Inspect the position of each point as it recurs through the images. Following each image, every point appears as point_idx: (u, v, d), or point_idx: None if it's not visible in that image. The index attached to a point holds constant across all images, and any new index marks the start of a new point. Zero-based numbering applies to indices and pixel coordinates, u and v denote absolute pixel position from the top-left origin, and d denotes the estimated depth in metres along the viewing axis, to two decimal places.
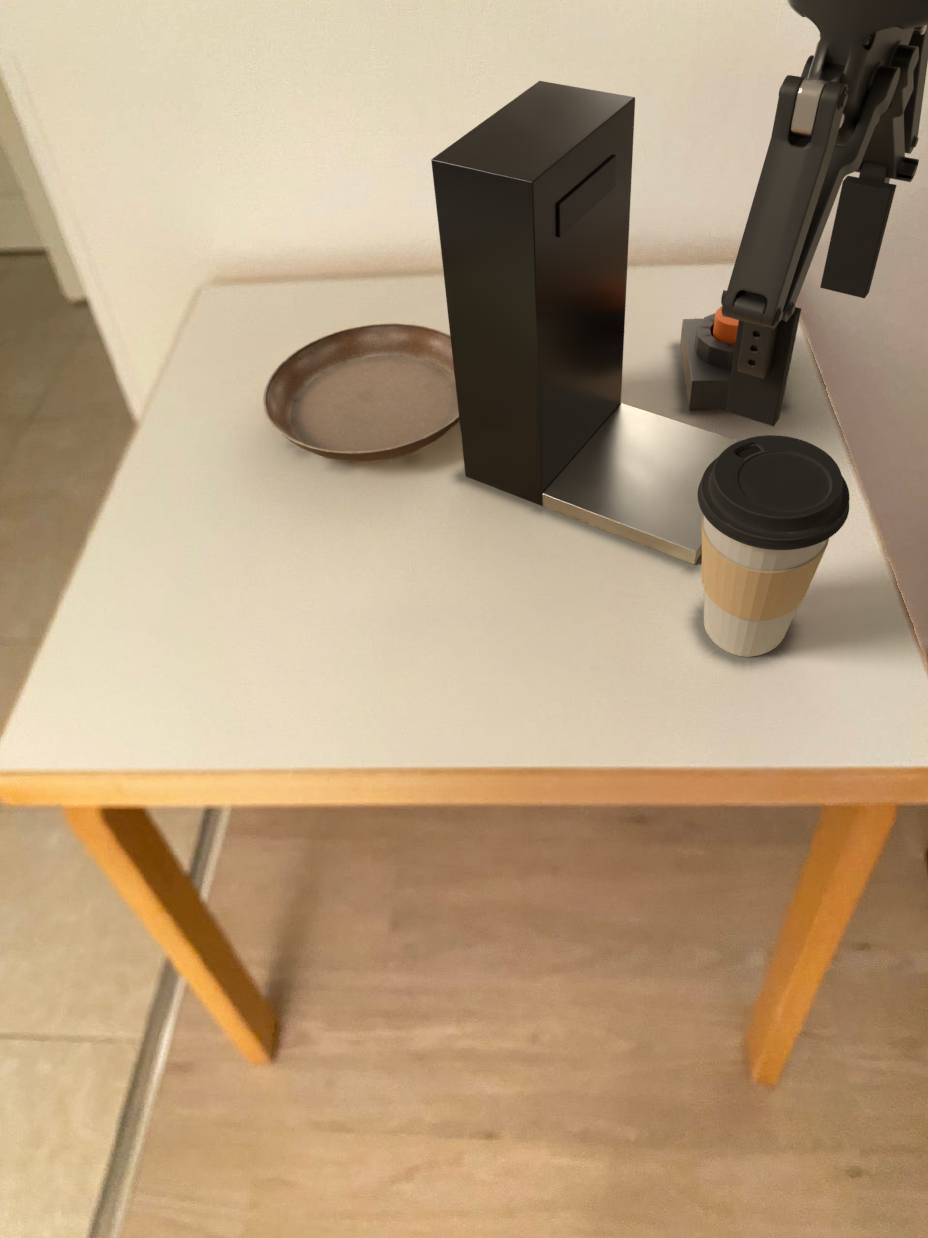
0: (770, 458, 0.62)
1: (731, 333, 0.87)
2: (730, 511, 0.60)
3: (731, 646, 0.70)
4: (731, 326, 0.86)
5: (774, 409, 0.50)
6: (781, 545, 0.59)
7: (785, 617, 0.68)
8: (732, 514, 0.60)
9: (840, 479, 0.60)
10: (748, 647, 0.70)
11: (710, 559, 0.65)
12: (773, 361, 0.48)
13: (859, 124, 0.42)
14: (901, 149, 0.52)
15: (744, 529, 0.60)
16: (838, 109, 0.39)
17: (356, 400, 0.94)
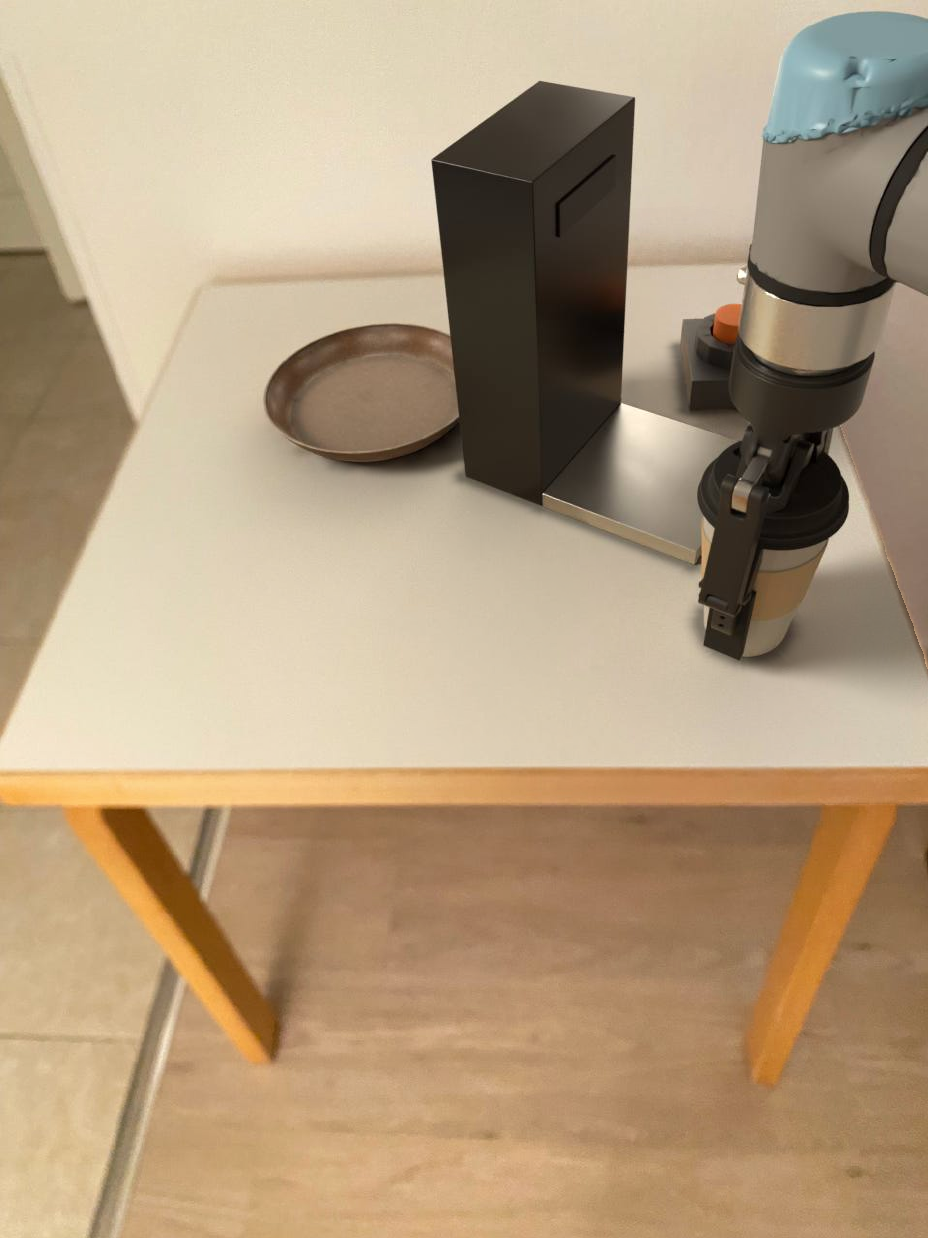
0: None
1: (731, 333, 0.87)
2: None
3: None
4: (731, 326, 0.86)
5: (739, 650, 0.67)
6: (781, 545, 0.59)
7: (785, 617, 0.68)
8: None
9: (840, 479, 0.60)
10: (748, 647, 0.70)
11: None
12: (737, 622, 0.65)
13: (785, 484, 0.58)
14: None
15: None
16: (762, 503, 0.55)
17: (356, 400, 0.94)
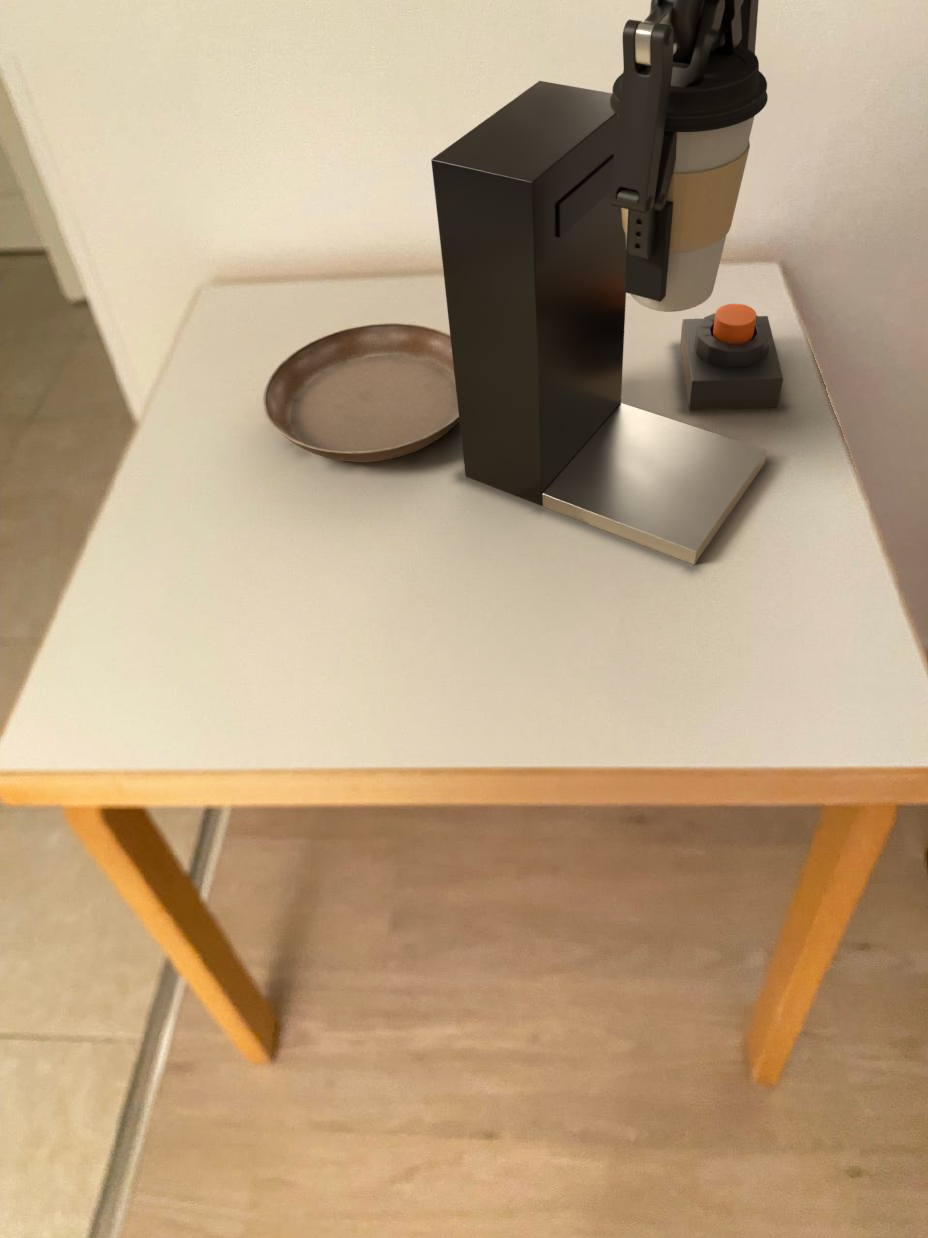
0: None
1: (731, 333, 0.87)
2: None
3: None
4: (731, 326, 0.86)
5: (660, 286, 0.64)
6: (692, 125, 0.56)
7: (708, 253, 0.64)
8: None
9: (756, 62, 0.57)
10: (672, 296, 0.66)
11: None
12: (655, 246, 0.62)
13: (695, 49, 0.55)
14: None
15: None
16: (666, 45, 0.52)
17: (356, 400, 0.94)
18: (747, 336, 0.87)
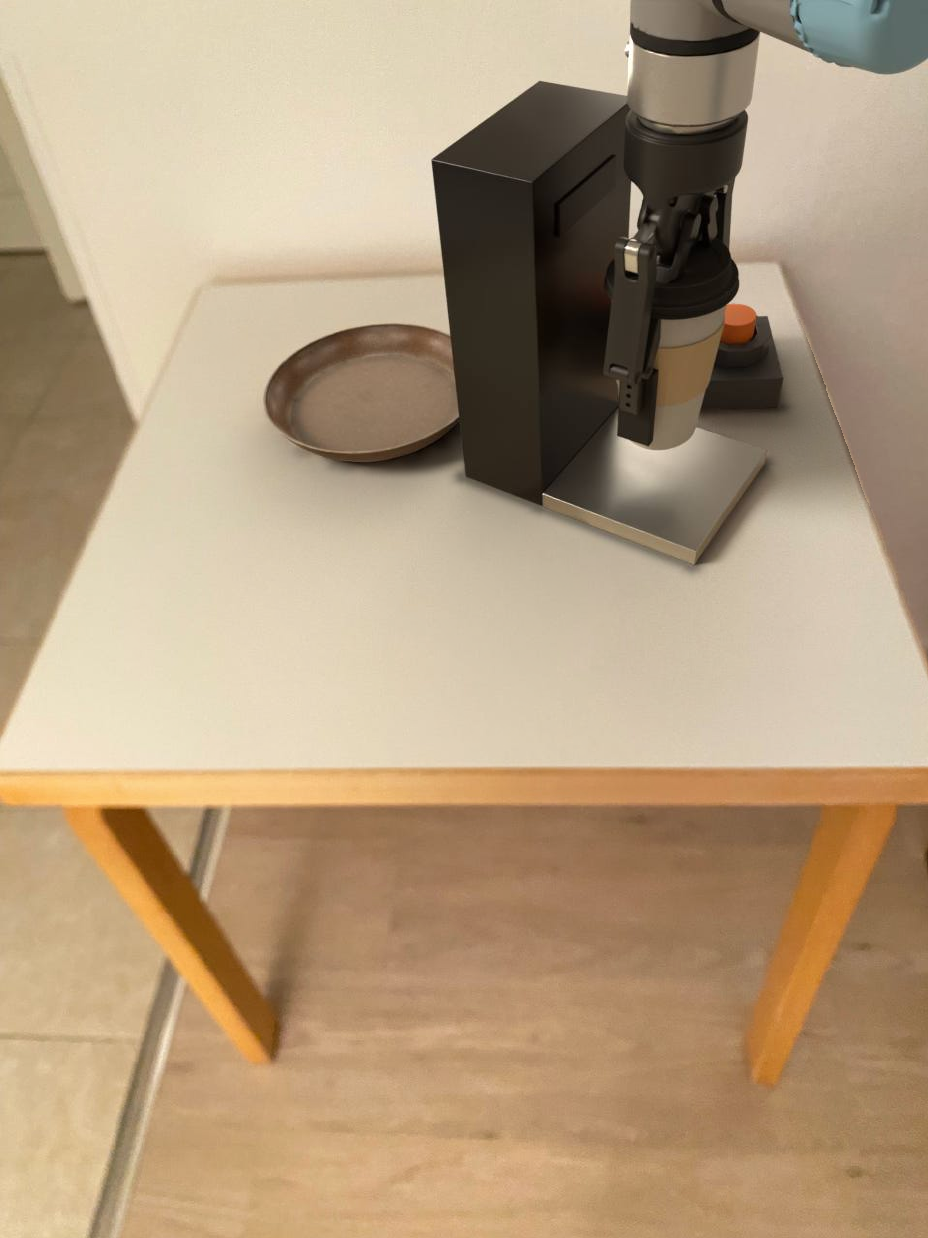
0: None
1: (731, 333, 0.87)
2: None
3: None
4: (731, 326, 0.86)
5: (647, 435, 0.74)
6: (674, 314, 0.66)
7: (689, 405, 0.74)
8: None
9: (729, 258, 0.67)
10: (658, 438, 0.76)
11: None
12: (643, 403, 0.72)
13: (676, 254, 0.64)
14: None
15: None
16: (651, 260, 0.61)
17: (356, 400, 0.94)
18: (747, 336, 0.87)
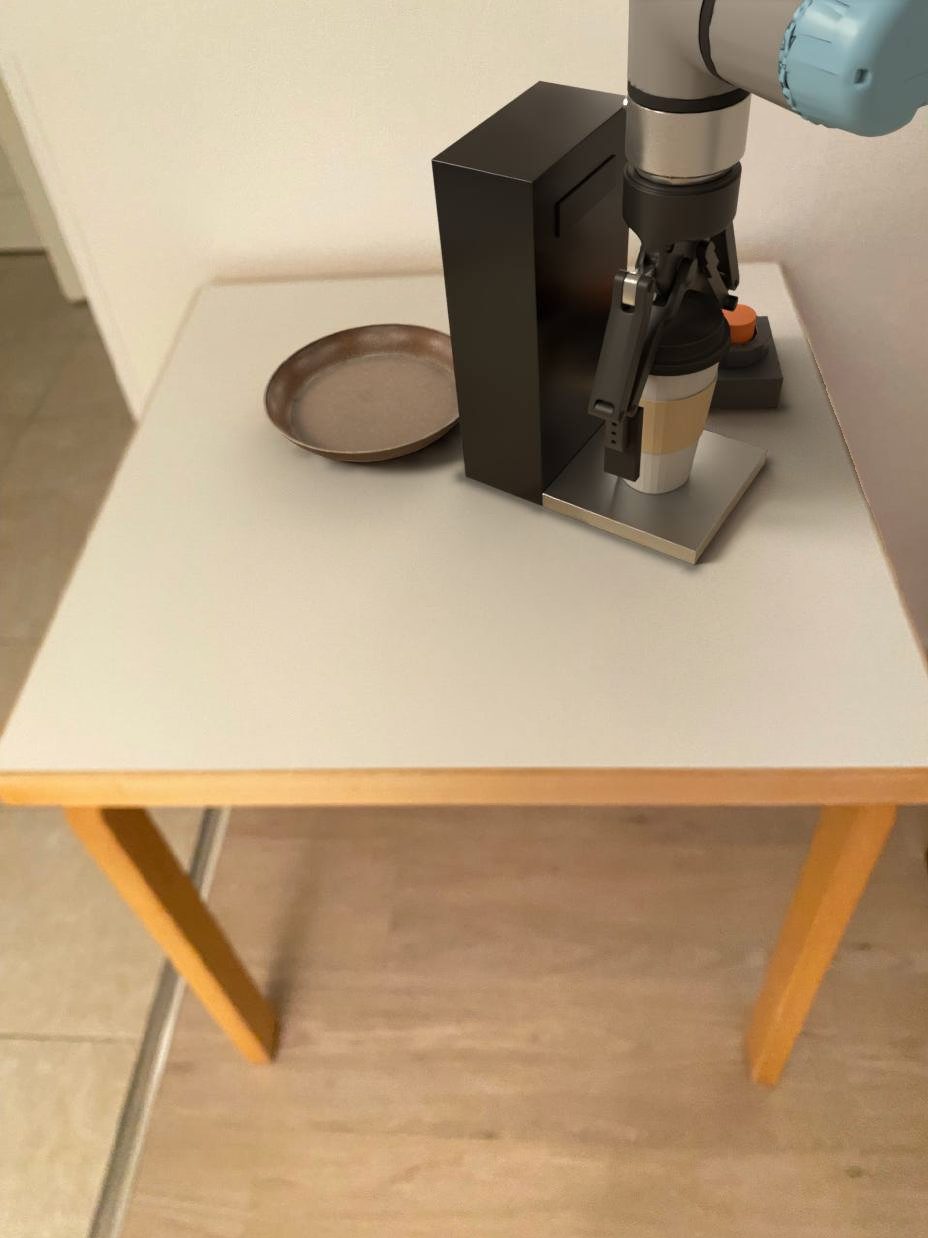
0: (664, 303, 0.72)
1: (731, 333, 0.87)
2: None
3: (640, 484, 0.80)
4: (731, 326, 0.86)
5: (634, 471, 0.73)
6: (669, 371, 0.69)
7: (684, 452, 0.77)
8: None
9: (721, 317, 0.70)
10: (655, 483, 0.79)
11: None
12: (629, 440, 0.71)
13: (671, 294, 0.66)
14: (723, 291, 0.75)
15: None
16: (649, 292, 0.63)
17: (356, 400, 0.94)
18: (747, 336, 0.87)
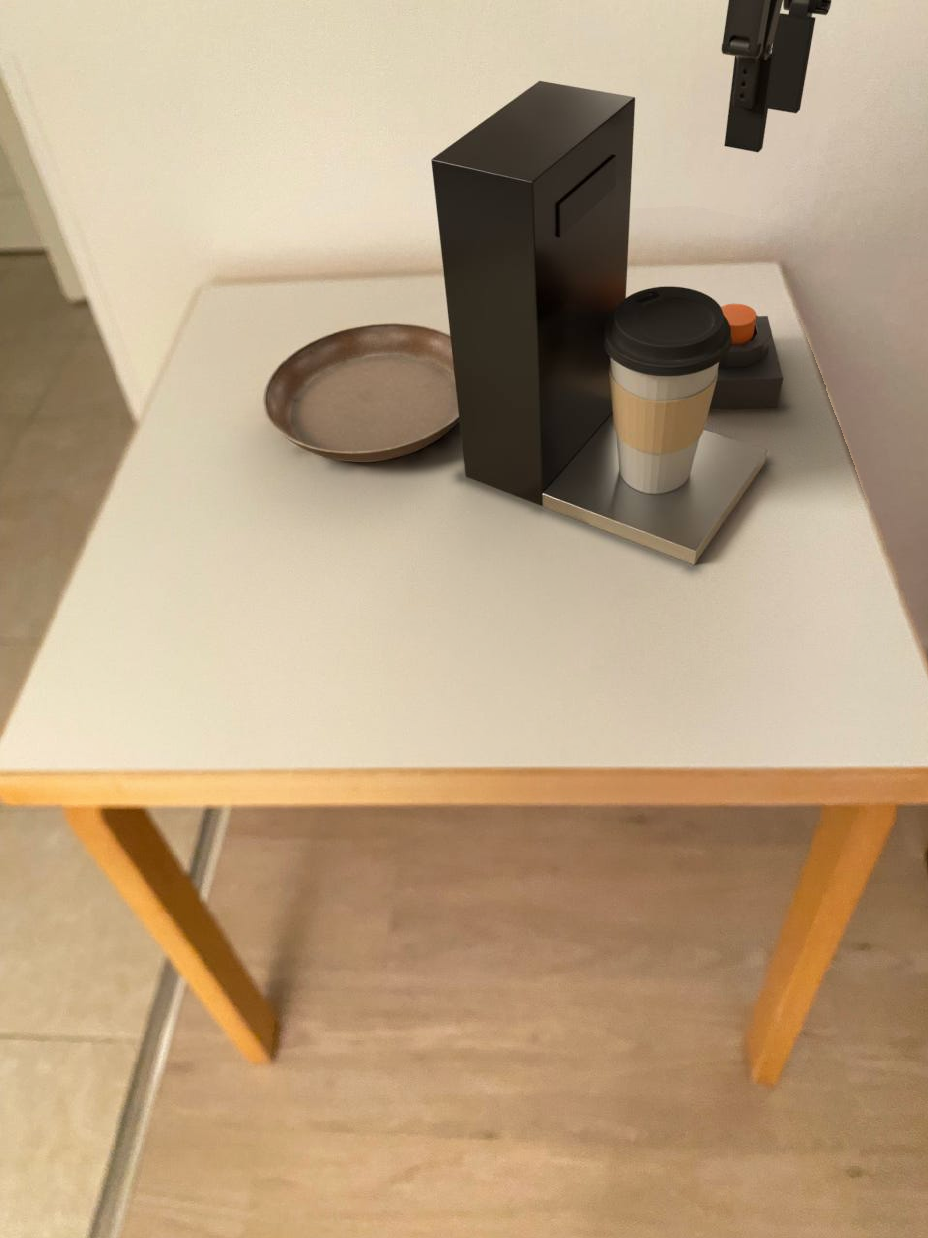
0: (664, 303, 0.72)
1: (731, 333, 0.87)
2: (627, 344, 0.70)
3: (640, 484, 0.80)
4: (731, 326, 0.86)
5: (758, 137, 0.72)
6: (669, 372, 0.69)
7: (684, 452, 0.77)
8: (628, 347, 0.70)
9: (721, 317, 0.70)
10: (655, 483, 0.79)
11: (616, 397, 0.75)
12: (757, 97, 0.70)
13: None
14: None
15: (638, 359, 0.70)
16: None
17: (356, 400, 0.94)
18: (747, 336, 0.87)
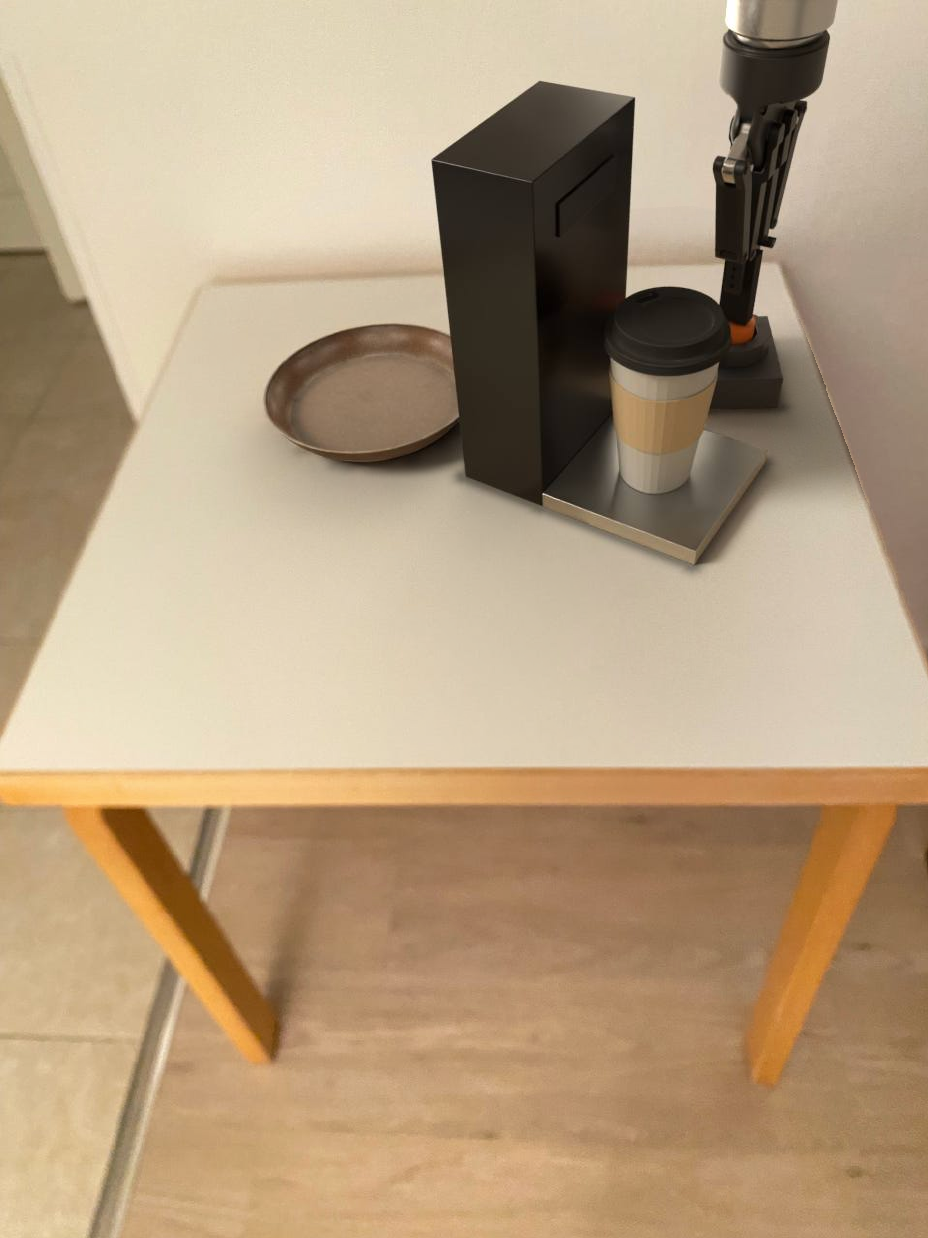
0: (664, 303, 0.72)
1: None
2: (627, 344, 0.70)
3: (640, 484, 0.80)
4: None
5: (746, 314, 0.86)
6: (669, 372, 0.69)
7: (684, 452, 0.77)
8: (628, 347, 0.70)
9: (721, 317, 0.70)
10: (655, 483, 0.79)
11: (616, 397, 0.75)
12: (744, 285, 0.84)
13: (766, 161, 0.75)
14: (769, 220, 0.81)
15: (638, 359, 0.70)
16: (745, 174, 0.72)
17: (356, 400, 0.94)
18: None
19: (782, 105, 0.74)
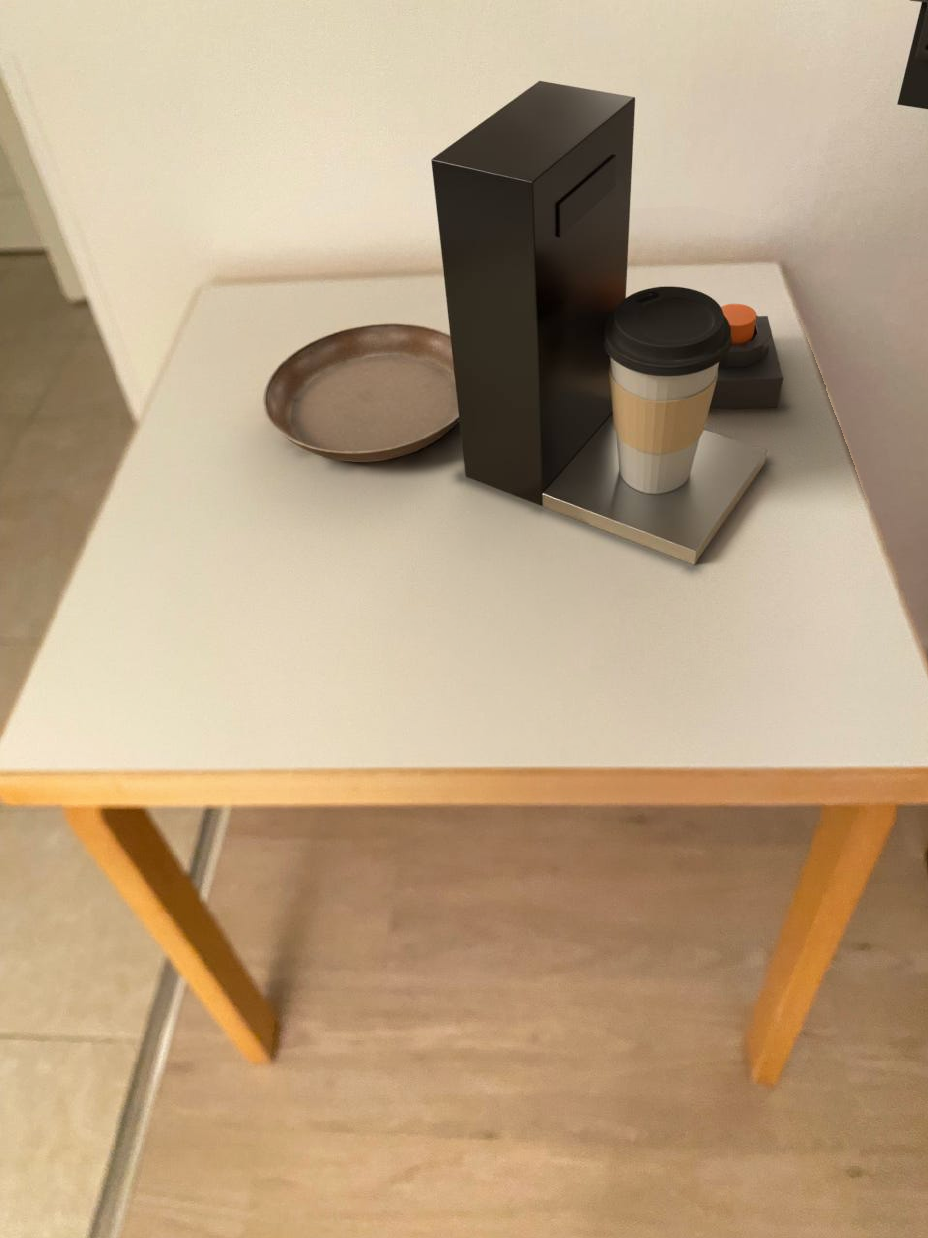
0: (664, 303, 0.72)
1: (731, 333, 0.87)
2: (627, 344, 0.70)
3: (640, 484, 0.80)
4: (731, 326, 0.86)
5: None
6: (669, 372, 0.69)
7: (684, 452, 0.77)
8: (628, 347, 0.70)
9: (721, 317, 0.70)
10: (655, 483, 0.79)
11: (616, 397, 0.75)
12: None
13: None
14: None
15: (638, 359, 0.70)
16: None
17: (356, 400, 0.94)
18: (747, 336, 0.87)
19: None
